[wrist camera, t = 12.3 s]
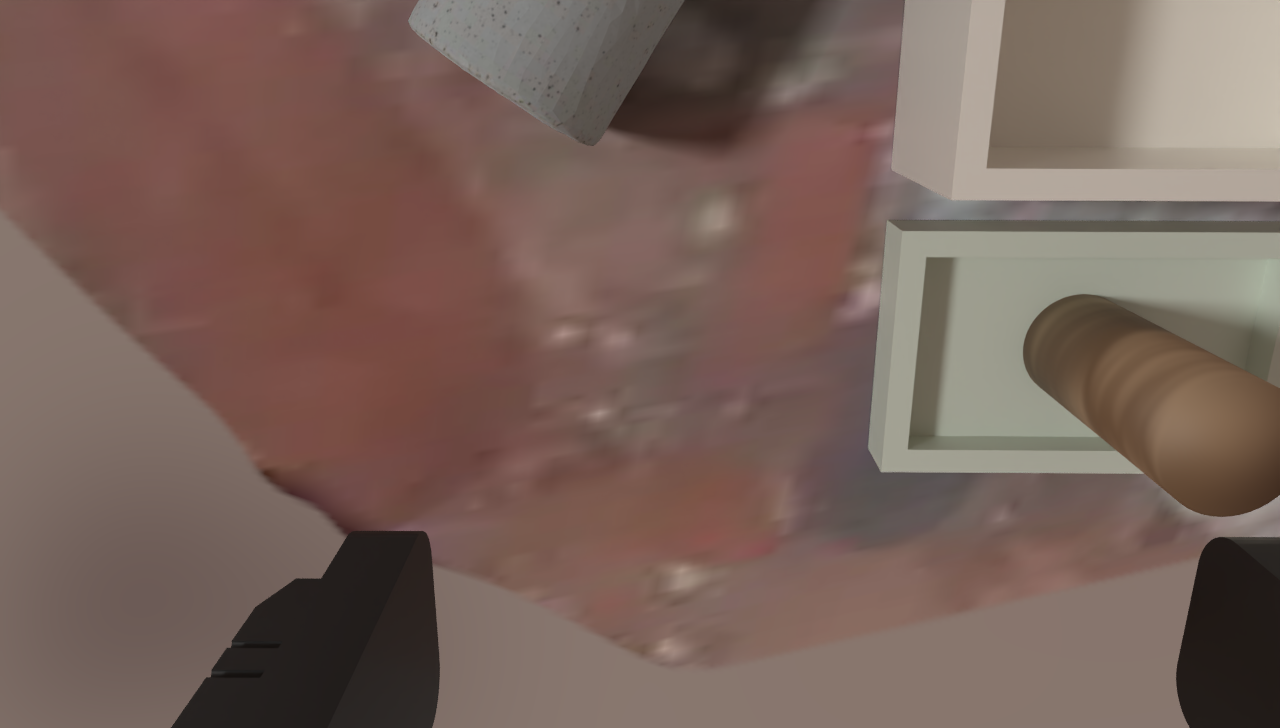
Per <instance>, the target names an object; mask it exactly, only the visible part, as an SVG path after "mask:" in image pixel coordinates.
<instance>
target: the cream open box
mask: <svg viewBox="0 0 1280 728" xmlns="http://www.w3.org/2000/svg"><path fill="white" fill-rule="evenodd" d="M891 170H892V171H894V172H896V173H898V174H900V175H902V176H904V177H906V178H908V179H910V180H912V181H914V182H916V183H918V184H920V185H922V186H924V187H926V188H928V189H930V190H932V191H934V192H936V193H938V194H940V195H942V196H944V197H946V198H948V199H950V200H1039V201H1280V0H905V9H904V21H903V33H902V45H901V57H900V69H899V81H898V93H897V105H896V117H895V129H894V141H893V153H892V165H891Z"/></svg>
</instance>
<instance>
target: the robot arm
mask: <svg viewBox="0 0 1280 728" xmlns="http://www.w3.org/2000/svg"><path fill="white" fill-rule="evenodd" d="M434 595H435V594H434V581H433V567H432V555H431V547H430V542H429V538H428V536H427V534H426V532H424V531H352V532H351V533H350V534H349V535H348V536H347V538H346V539H345V541H344V542H343V544H342V546H341V547H340V549H339V551H338V552H337V554H336V555H335V557H334V559H333V561H332V562H331V564H330V565H329V567H328V569H327V570H326V572H325V574H324V575H323V577H322V578H321V579H295V580H294V581H292V582H291V583H289V584H288V585H286V586H285V587H283V588H282V589H281V590H279V591H278V592H277V593H275V594H273V595H272V596H271V597H269V598H268V599H266V600H265V601H264V602H262V603H261V604H259V605H258V606H257V607H255V609H254V610H253V612H252V613H251V614H250V616H249V617H248V619H247V620H246V622H245V623H244V624H243V626H242V627H241V629H240V630H239V631H238V633H237V634H236V636H235V637H234V639H233V640H232V646H231V648H227V649H226V650H225V651H224V653H223V654H222V656H221V657H220V659H219V660H218V661H217V663H216V664H215V666H214V667H213V669H212V674H211V677H210V678H206V679H205V680H204V681H203V683H202V684H201V686H200V687H199V689H198V690H197V692H196V693H195V694H194V696H193V697H192V699H191V700H190V701H189V703H188V705H187V706H186V707H185V709H184V710H183V711H182V713H181V714H180V716H179V717H178V719H177V720H176V721H175V723H174V724H173V726H172V727H171V728H432V726H433V723H434V718H435V714H436V708H437V702H438V693H439V677H440V663H439V649H438V648H439V647H438V634H437V622H436V608H435V596H434ZM1176 682H1177V692H1178V697H1179V702H1180V706H1181V709H1182V712H1183V714H1184V717H1185V719H1186V721H1187V723H1188V725H1189V727H1190V728H1280V537H1218V538H1215V539H1213V540H1211V541H1210V542H1209V543H1208V544H1207V545H1206V546H1205V548H1204V549H1203V551H1202V553H1201V556H1200V559H1199V563H1198V568H1197V573H1196V577H1195V582H1194V587H1193V592H1192V596H1191V601H1190V607H1189V611H1188V616H1187V621H1186V625H1185V630H1184V635H1183V640H1182V645H1181V649H1180V654H1179V660H1178V664H1177V672H1176Z"/></svg>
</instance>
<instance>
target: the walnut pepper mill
mask: <svg viewBox="0 0 1280 728" xmlns="http://www.w3.org/2000/svg"><path fill="white" fill-rule="evenodd" d="M1023 360H1024V365H1025V368H1026V370H1027V373H1028V374H1029V376H1030V378H1031V379H1032V380H1033V381H1034V383H1035V384H1037V385H1038V386H1039V387H1040V388H1041V389H1042V390H1044V391H1045V392H1046V393H1047V394H1048V395H1050V396H1051V397H1052V398H1053V399H1054V400H1056V401H1057V402H1058V403H1059V404H1061V405H1062V406H1063V407H1064V408H1065V409H1067V410H1068V411H1069V412H1070V413H1071V414H1073V415H1074V416H1075V417H1076V418H1078V419H1079V420H1080V421H1081V422H1082V423H1084V424H1085V425H1086V426H1087V427H1088V428H1090V429H1091V430H1092V431H1093V432H1095V433H1096V434H1097V435H1098V436H1099V437H1101V438H1102V439H1103V440H1104V441H1105V442H1107V443H1108V444H1109V445H1110V446H1112V447H1113V448H1114V449H1115V450H1116V451H1118V452H1119V453H1120V454H1121V455H1122V456H1124V457H1125V458H1126V459H1127V460H1129V461H1130V462H1131V463H1132V464H1133V465H1135V466H1136V467H1137V468H1138V469H1139V470H1141V471H1142V472H1143V473H1144V474H1146V475H1147V476H1148V477H1149V478H1150V479H1152V480H1153V481H1154V482H1155V483H1156V484H1158V485H1159V486H1160V487H1161V488H1163V489H1164V490H1165V491H1166V492H1167V493H1169V494H1170V495H1171V496H1172V497H1173V498H1175V499H1176V500H1177V501H1178V502H1180V503H1181V504H1182V505H1184V506H1185V507H1187V508H1188V509H1190V510H1192V511H1195V512H1197V513H1200V514H1204V515H1209V516H1218V517H1225V516H1235V515H1240V514H1244V513H1247V512H1251V511H1253V510H1255V509H1258V508H1260V507H1262V506H1264V505H1266V504H1268V503H1269V502H1271V501H1272V500H1274V499H1275V498H1276V497H1278V496H1279V495H1280V388H1278V387H1276V386H1274V385H1272V384H1270V383H1268V382H1267V381H1265V380H1263V379H1261V378H1259V377H1257V376H1255V375H1253V374H1251V373H1249V372H1247V371H1245V370H1243V369H1241V368H1239V367H1237V366H1235V365H1234V364H1232V363H1230V362H1228V361H1226V360H1224V359H1222V358H1220V357H1218V356H1216V355H1214V354H1212V353H1210V352H1208V351H1206V350H1204V349H1202V348H1201V347H1199V346H1197V345H1195V344H1193V343H1191V342H1189V341H1187V340H1185V339H1183V338H1181V337H1179V336H1177V335H1175V334H1173V333H1171V332H1170V331H1168V330H1166V329H1164V328H1162V327H1160V326H1158V325H1156V324H1154V323H1152V322H1150V321H1148V320H1146V319H1144V318H1142V317H1140V316H1138V315H1137V314H1135V313H1133V312H1131V311H1129V310H1127V309H1125V308H1123V307H1121V306H1119V305H1117V304H1115V303H1113V302H1111V301H1109V300H1107V299H1105V298H1103V297H1100V296H1096V295H1091V294H1077V295H1072V296H1068V297H1065V298H1062V299H1060V300H1058V301H1056V302H1054V303H1052V304H1051V305H1049V306H1048V307H1046V308H1045V309H1044V310H1043V311H1042V312H1041V313H1040V314H1039V315H1038V316H1037V317H1036V318H1035V319H1034V321H1033V322H1032V324H1031V325H1030V327H1029V329H1028V331H1027V334H1026V337H1025V340H1024V345H1023Z"/></svg>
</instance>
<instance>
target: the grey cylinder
mask: <svg viewBox="0 0 1280 728" xmlns="http://www.w3.org/2000/svg"><path fill="white" fill-rule="evenodd" d="M684 1H685V0H419V2H418V3H417V5H416V6H415V8H414V10H413V12H412V14H411V16H410V18H409V20H408V22H409V24H410V26H411V28H412V29H413V30H414V31H415V32H416V33H417V35H419V36H420V37H421V38H422V39H424V40H425V41H426V42H427V43H429V44H430V45H431V46H432V47H433V48H435V49H436V50H438V51H439V52H441V53H442V54H443V55H444V56H446V57H447V58H448V59H450V60H451V61H452V62H454V63H455V64H457V65H458V66H459V67H460V68H462V69H463V70H464V71H466V72H468V73H469V74H471V75H472V76H474V77H475V78H477V79H478V80H480V81H481V82H483V83H484V84H485V85H487V86H488V87H490V88H492V89H494V90H495V91H496V92H497V93H499V94H500V95H502V96H504V97H505V98H507V99H508V100H510V101H512V102H513V103H515V104H516V105H518V106H519V107H521V108H522V109H523V110H525V111H526V112H528V113H529V114H531V115H532V116H534V117H535V118H537V119H538V120H540V121H541V122H543V123H544V124H546V125H548V126H549V127H551V128H553V129H555V130H557V131H558V132H561V133H563V134H566V135H567V136H569V137H570V138H571V139H573V140H575V141H577V142H579V143H582V144H585V145H590V146H594V145H595V144H596V143H597V142H598V141H599V140H600V139H601V137H602V136H603V134H604V133H605V131H606V129H607V127H608V126H609V124H610V122H611V120H612V119H613V117H614V115H615V114H616V112H617V110H618V109H619V107H620V106H621V104H622V102H623V101H624V99H625V97H626V96H627V94H628V92H629V91H630V89H631V88H632V86H633V84H634V83H635V81H636V80H637V78H638V76H639V75H640V73H641V71H642V70H643V68H644V66H645V65H646V63H647V61H648V59H649V58H650V56H651V54H652V52H653V50H654V49H655V47H656V46H657V44H658V42H659V41H660V39H661V38H662V36H663V34H664V33H665V31H666V29H667V28H668V26H669V25H670V23H671V21H672V20H673V18H674V17H675V15H676V13H677V12H678V10H679V9H680V7H681V5H682V4H683V2H684Z"/></svg>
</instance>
